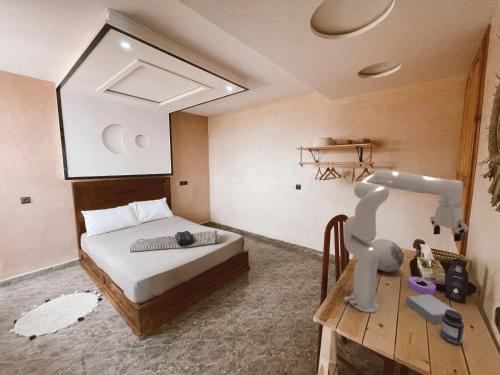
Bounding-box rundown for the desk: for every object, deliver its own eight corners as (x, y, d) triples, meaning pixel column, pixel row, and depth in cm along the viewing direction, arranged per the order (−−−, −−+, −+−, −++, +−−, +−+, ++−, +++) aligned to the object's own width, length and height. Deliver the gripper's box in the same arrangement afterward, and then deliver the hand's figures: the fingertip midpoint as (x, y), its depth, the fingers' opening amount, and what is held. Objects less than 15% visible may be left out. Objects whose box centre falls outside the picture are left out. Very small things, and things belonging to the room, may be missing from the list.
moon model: (369, 275, 128) (371, 244, 125) (363, 260, 147) (364, 233, 144) (407, 280, 122) (410, 248, 119) (395, 264, 140) (398, 236, 138)
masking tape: (417, 280, 122) (417, 274, 121) (440, 292, 111) (441, 286, 110) (402, 284, 118) (403, 278, 118) (425, 297, 107) (426, 290, 107)
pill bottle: (450, 332, 85) (453, 307, 84) (466, 345, 79) (469, 319, 78) (436, 332, 85) (438, 308, 83) (450, 345, 79) (454, 319, 77)
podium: (432, 324, 89) (433, 315, 89) (405, 303, 102) (406, 296, 102) (457, 320, 91) (458, 311, 91) (428, 300, 104) (429, 293, 104)
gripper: (426, 201, 111) (423, 232, 113) (464, 208, 94) (459, 244, 96) (438, 201, 112) (435, 231, 114) (477, 208, 95) (473, 243, 97)
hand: (446, 237), depth 105 cm, fingers open, 9 cm apart
